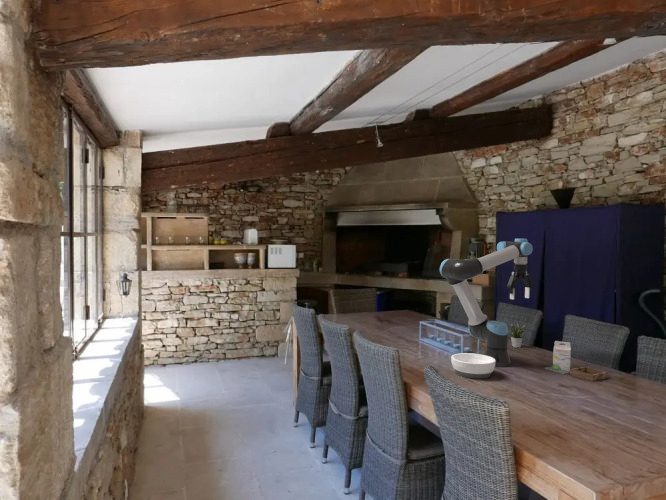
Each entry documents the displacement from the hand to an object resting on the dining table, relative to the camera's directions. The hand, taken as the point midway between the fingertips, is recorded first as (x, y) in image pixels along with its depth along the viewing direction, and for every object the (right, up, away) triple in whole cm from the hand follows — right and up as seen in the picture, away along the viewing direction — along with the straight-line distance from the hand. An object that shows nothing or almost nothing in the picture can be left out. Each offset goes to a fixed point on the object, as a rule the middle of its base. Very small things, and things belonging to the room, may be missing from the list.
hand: (519, 298), depth 299 cm
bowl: (-41, -36, -42) cm, 68 cm away
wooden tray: (+19, -36, -43) cm, 60 cm away
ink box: (+11, -36, -32) cm, 49 cm away
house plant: (+6, -34, +24) cm, 42 cm away
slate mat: (+10, -36, -32) cm, 49 cm away
